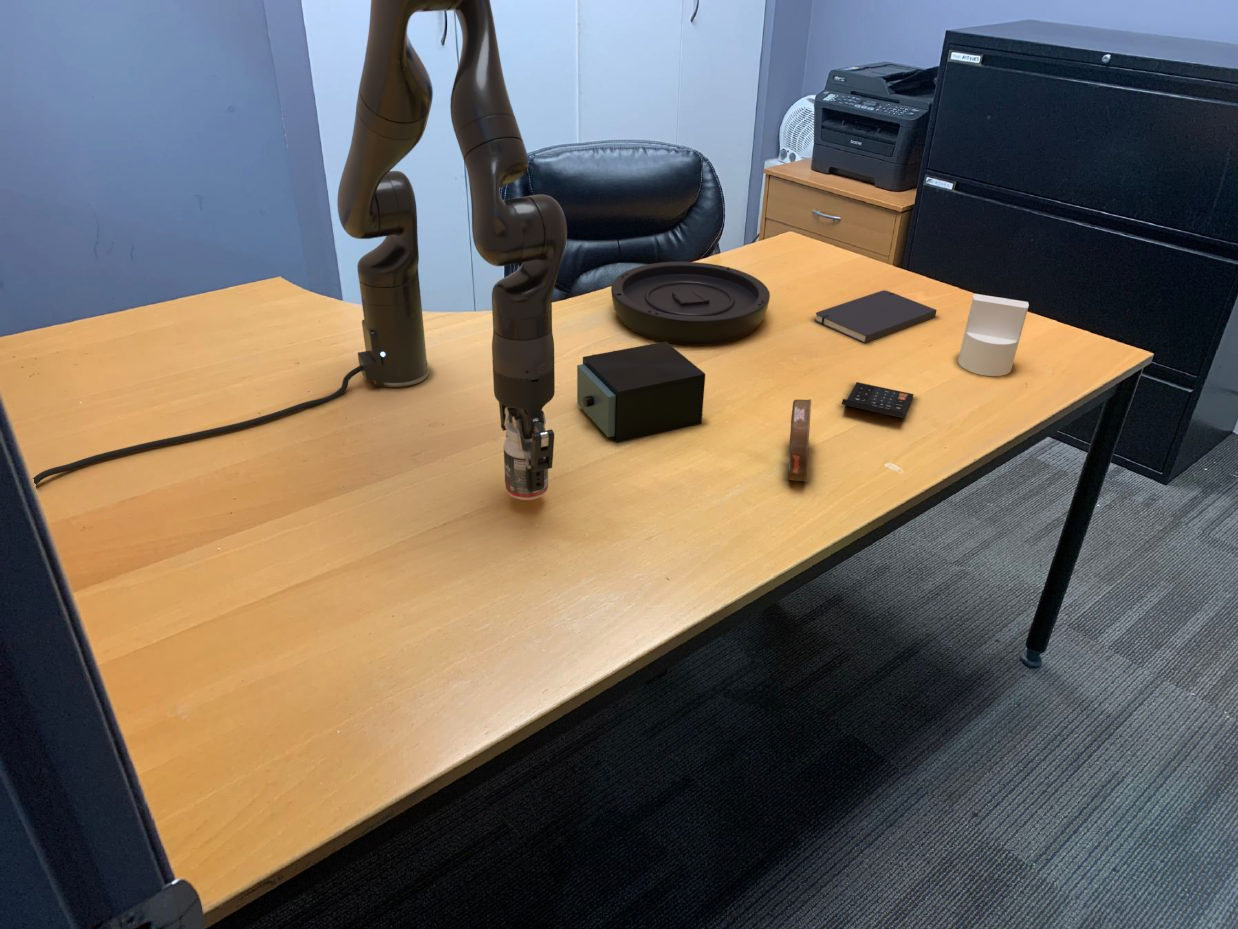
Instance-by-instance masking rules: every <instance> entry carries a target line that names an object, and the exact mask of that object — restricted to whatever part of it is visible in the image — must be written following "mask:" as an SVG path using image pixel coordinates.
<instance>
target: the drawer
mask: <svg viewBox="0 0 1238 929" xmlns="http://www.w3.org/2000/svg"><path fill="white" fill-rule="evenodd" d="M576 385H577V386H576V404H577V405H578V406H579V408H580V409H581V410H582V411H583V412H584V413H585V414H586V415H587V416H588V418H590V419H591V420H592V422H593V423H594V424H595V425H596V426H597V427H598V428H599V429H600V431H602V433H603V434H604V435H605V436H606V437H607V438H612V437H611V436H615V410H616V394H615V393H614V392H613V391H612V390H611V389H610V388H609V387H608V386H607V385H606V384H605V383H604V382H603V381H602V380H601V379H600V378H599V377H598V376H597V375H596V374H595V373H593V372H592V371H591V370H590V369H589V368H588V367H587V366H586V365H585V364H583V363H581V364H577V365H576Z"/></svg>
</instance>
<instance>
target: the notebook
mask: <svg viewBox="0 0 1238 929" xmlns="http://www.w3.org/2000/svg"><path fill="white" fill-rule="evenodd" d="M937 311H938V310H937V309H935V308H934V307H931V306H928V305H926V304H923V303H920V302H917V301H915V300H912V299H910V298H907V297H904V296H902V295H899V294H897V293H895V292H891V291H889V290H886V289H885V290H879V291H877V292H873V293H870V294H867V295H864V296H862V297H858V298H855V299H852V300H849V301H846V302H842V303H840V304H838V305H835V306H831V307H829V308H825V309H823V310H820V311H817V312H815V315H816V318H815V319H814V321H815V323H818V324H820V325H822V326H825V327H827V328H830V329H831V330H834V331H836V332H839V333H841V334H843V335H845V336H848V337H850V338H851V339H855V340H856V341H859V342H861V343H864V344H866V343H870V342H872V341H875V340H878V339H880V338H883V337H885V336H888V335H890V334H893V333H896V332H899V331H901V330H904V329H907V328H910V327H912V326H915V325H917V324H920V323H923V322H925V321H928V320H931V319H934V318H936V315H937Z"/></svg>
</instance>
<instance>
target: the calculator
mask: <svg viewBox="0 0 1238 929" xmlns="http://www.w3.org/2000/svg"><path fill="white" fill-rule="evenodd" d="M913 399H914V393H910V392H905V391H900V390H897V389H892V388H887V387H882V386H877V385H872V384H869V383H863V382H860V381H859V382H858V381H856V382H855V384H854V386H853V387H852V389H851V391H850V393H849V395H848V397H847V399H846V398H842V401H841V405H843V406H847V407H852V408H855V409H859V410H860V409H861V410H865V411H869V412H873V413H879V414H882V415H887V416H892V417H896V418H900V419H905V418H906V416H907V414H908V411H909V408H910V406H911V404H912V401H913Z"/></svg>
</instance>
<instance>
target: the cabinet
mask: <svg viewBox="0 0 1238 929" xmlns="http://www.w3.org/2000/svg"><path fill="white" fill-rule="evenodd" d="M582 364H585V365H586V366H587V367H588V368H589V369H590V370H591V371H592V372H593V373H595V374H596V375H597V376H598V377H599V378H600V379H601V380H602V381H603V382H604V383H605V384H606V385H607V386H608V387H609V388H610V389H611V390H612V391H613V392H614V393H615V394H616V410H615V436H611V437H610V438H612V440H614V442H615V443H617V444H618V443H622V442H627V441H632V440H636V439H639V438H644V437H645V438H646V437H649V436H652V435H657V434H663V433H667V432H671V431H676V430H680V429H684V428H688V427H692V426H697V425H701V424H702V420H703V411H704V410H703V409H704V398H705V384H706V373H705V372H704V371H703V370H701V369H700V368H699V367H698V366H697V365H695V363H693V362H692V361H691V360H689V359H688V358H687V357H685V356H684V355H683V354H682V353H681V352H679V351H678V350H677V349H676V348H675V347H674V346H672V345H671V343H667V342H666V341H665V342H662V341H659V342H655V343H650V344H645V345H638V346H633V347H627V348H622V349H618V350H613V351H606V352H600V353H596V354H590V355H584V356H583V357H582Z"/></svg>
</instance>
